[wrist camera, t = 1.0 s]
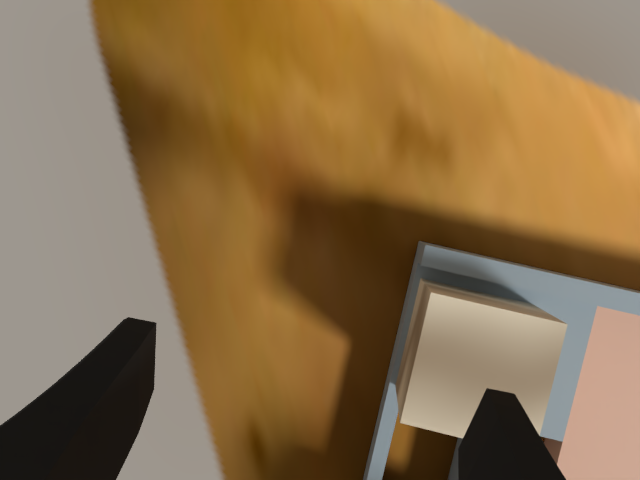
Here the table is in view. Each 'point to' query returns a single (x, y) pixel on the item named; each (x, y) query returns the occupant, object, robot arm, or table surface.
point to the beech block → (474, 356)
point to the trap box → (572, 370)
